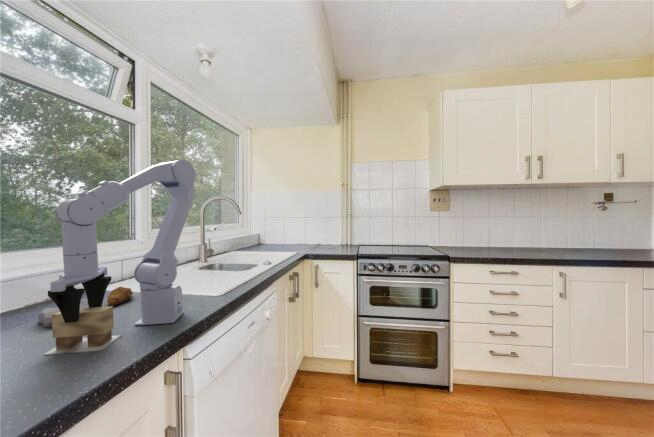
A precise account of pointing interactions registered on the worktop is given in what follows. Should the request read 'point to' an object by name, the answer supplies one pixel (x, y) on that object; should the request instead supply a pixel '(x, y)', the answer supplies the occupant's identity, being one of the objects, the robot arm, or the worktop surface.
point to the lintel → (84, 323)
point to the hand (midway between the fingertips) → (84, 315)
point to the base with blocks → (83, 343)
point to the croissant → (119, 296)
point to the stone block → (46, 314)
